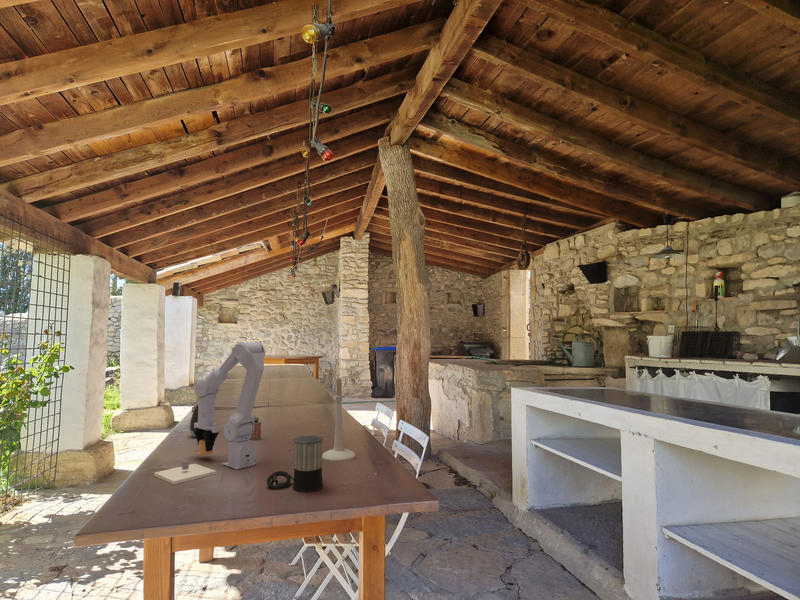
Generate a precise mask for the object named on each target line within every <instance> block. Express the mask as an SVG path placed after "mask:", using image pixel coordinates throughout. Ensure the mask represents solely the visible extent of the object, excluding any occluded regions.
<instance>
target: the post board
mask: <svg viewBox="0 0 800 600" xmlns="http://www.w3.org/2000/svg"><path fill="white" fill-rule="evenodd" d="M216 474H217V471H216V470H214V469H211V468H209V467H206V466H203V465H200V464H198V463H192V464H191V463H189V460H186V459H185V460H183V461H182V463H181V466H178V467H173V468H169V469H164V470H161V471H156V472H154V474H153V475H154V477H156V478H159V479H160V480H163V481H165V482H167V483H169V484H171V485H178V484H182V483H185V482H190V481H193V480H197V479H201V478H205V477H210V476H213V475H216Z"/></svg>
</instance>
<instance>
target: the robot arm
mask: <svg viewBox="0 0 800 600" xmlns="http://www.w3.org/2000/svg"><path fill="white" fill-rule="evenodd" d="M266 352H267V351H266V349H265V346H264V345H263V343H262V342H260V341H251V342H250V341H248V342H247V341H246V342H241V341H239V342H236V344H234V346H233V347H232V348H231V353H230V354H228V356H227V358H226V359H225V360H224V362H223V363H222V364H221V365H220V366H219V367H213V368H212V369H211V372H210V373H209V374H208V376H206V377H205V378H204V380H200V381H197V383H196V384H195V385H194V386H195V387H194V392H195V394H196V396H197V397H198V400H197V401H198V402H197V405H198V422H197V423H194V428H197V430H194V431H193V433H194V434H195V436H196V437H195V438H196V441H197V445H198V447H199V440H202V439H204V440H205V448H206V451H207V452H208V451H212V449H213V450H214V446H215V441H216V439H217V437H218V435H219V434H220V429H219V428H220V427H219V426H218V423H216V422H215V407H216V406H215V405H216V399H217V394H218V392H219V389H220V388H219V387H221V385H222V384H223V383H225V381H226V379H228V377H229V375H228V373H229V372H230V371H232V370H233V369H234V368H235V367H236V365H238V364H240V365H241V366H242V367H243V368H245V370H246V373H245V375H244V379H243V383H242V386H241V391H240V393H239V397H238V401H237V404H236V409H235V412H234V413H232V415H230V416H229V418H228V421H227V423H225V425H224V427H223V435H224V438H225V439H226V441H227V442H228V446H227V448H228V449H227V451H228V452H227V453H228V454H227V461H226V462H223V463H222V465H223V466H226V467H229V468H232V469H235V470H240V469H241V470H242V469H243V468H248V467H253V466H256V465H257V464H258V463H257V462H255V459H256V458H255V457H256V455H255V453H256V452H255V451H256V447H255V445H254V443H253V442H252V441H251V440H250V439H249V438H251V434H253V432H254V421H255V418H254V417H253V416H254V415H253V414H252V413H253V409H254V405H255V402H256V398H257V394H258V391H259V388H260V383H261V382H262V381H261V380H262V378H263V377H262V376H263V373H264V370H265V369H264V368H265V367H264V366H265V365H264V364H265V362H264V360H265V356H266ZM255 464H256V465H255Z"/></svg>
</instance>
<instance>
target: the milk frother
mask: <svg viewBox="0 0 800 600" xmlns="http://www.w3.org/2000/svg"><path fill="white" fill-rule="evenodd" d="M323 440H324V437H322V436H320V435H319V436H318V435H314V434H313V435H300V436H298V437H295V438H293V442H294V446H293V451H294V452H293V455H294V456H293V459H294V461H293V477H292V475H291V474H289V473H288V472H286V471H282V470H279V471H275V472H273V473H271V474H270V475H269V476H268V477H267V479H266V485H267V486H268V487H269V488H272V489H282V488H283V489H284V488H286V487H288V486H289V485H290V483H291V480H292V481H293V485H292V490H294V491H296V492H299V491H300V492H301V493H309V492H308V491H311V492H315V490H316V491H318V489H319V490H320V489H322V488H323V486H324V484H323V459H322V454H323ZM277 477H284V478H285V479H286V481H285V482H283V483H279V484H278V482H279V479H278V478H277Z"/></svg>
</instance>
